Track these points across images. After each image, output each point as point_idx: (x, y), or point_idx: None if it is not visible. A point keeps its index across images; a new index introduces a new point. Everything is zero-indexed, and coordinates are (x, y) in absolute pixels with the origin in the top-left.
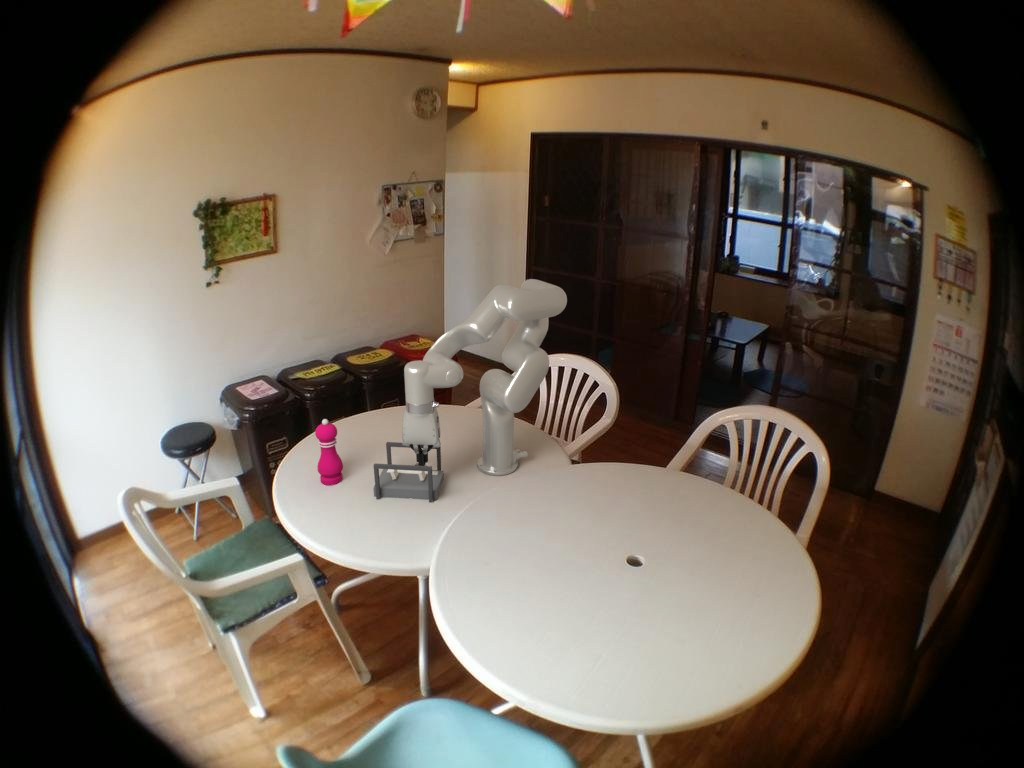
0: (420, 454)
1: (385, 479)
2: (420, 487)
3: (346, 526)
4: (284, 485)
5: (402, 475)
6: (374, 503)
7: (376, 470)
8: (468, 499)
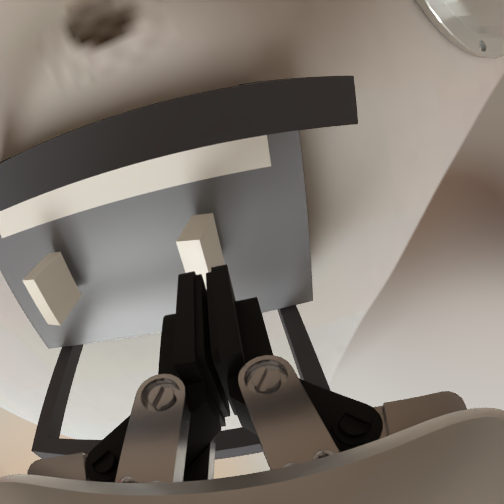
0: (226, 415)
1: None
2: None
3: (107, 419)
4: None
5: (79, 237)
6: (89, 348)
7: (55, 437)
8: (410, 231)
